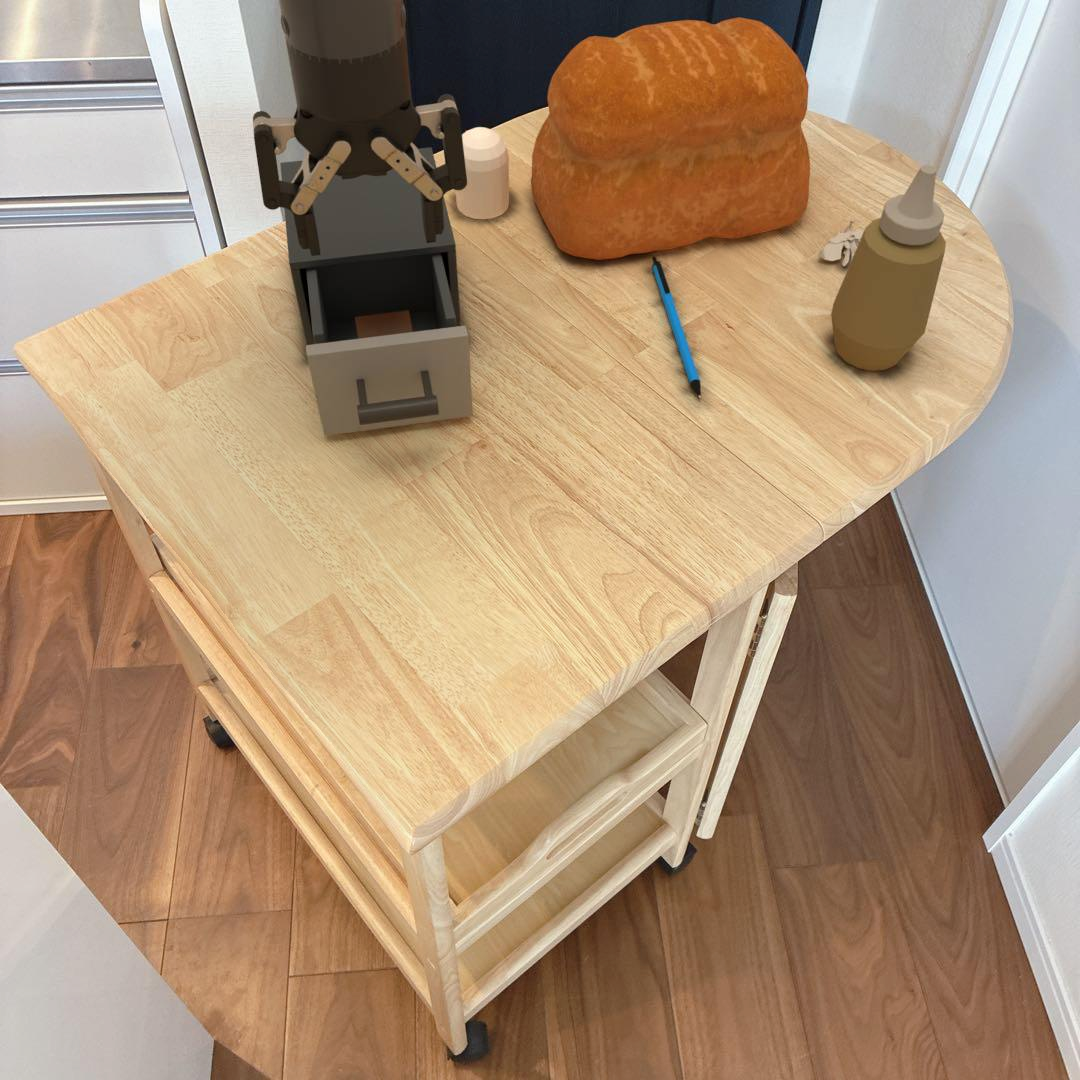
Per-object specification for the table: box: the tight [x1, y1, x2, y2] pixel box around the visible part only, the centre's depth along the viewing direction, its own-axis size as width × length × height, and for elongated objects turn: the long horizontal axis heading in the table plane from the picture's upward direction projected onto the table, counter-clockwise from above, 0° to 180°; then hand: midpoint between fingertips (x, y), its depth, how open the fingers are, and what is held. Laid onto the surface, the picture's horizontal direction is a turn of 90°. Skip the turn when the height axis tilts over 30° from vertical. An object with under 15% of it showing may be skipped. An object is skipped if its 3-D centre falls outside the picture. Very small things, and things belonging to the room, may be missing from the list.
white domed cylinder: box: [455, 126, 510, 220], centre depth 104 cm, size 5×5×8 cm
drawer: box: [305, 253, 474, 437], centre depth 86 cm, size 18×12×9 cm
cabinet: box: [279, 147, 462, 345], centre depth 93 cm, size 14×13×10 cm
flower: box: [817, 219, 864, 267], centre depth 101 cm, size 8×8×3 cm
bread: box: [530, 16, 811, 261], centre depth 100 cm, size 16×26×17 cm, turn 106°
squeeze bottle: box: [830, 164, 947, 372], centre depth 87 cm, size 8×8×18 cm
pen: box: [651, 255, 702, 399], centre depth 95 cm, size 1×19×1 cm, turn 8°
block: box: [355, 310, 413, 339], centre depth 87 cm, size 4×4×4 cm
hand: (372, 242), depth 79 cm, fingers open, 8 cm apart
